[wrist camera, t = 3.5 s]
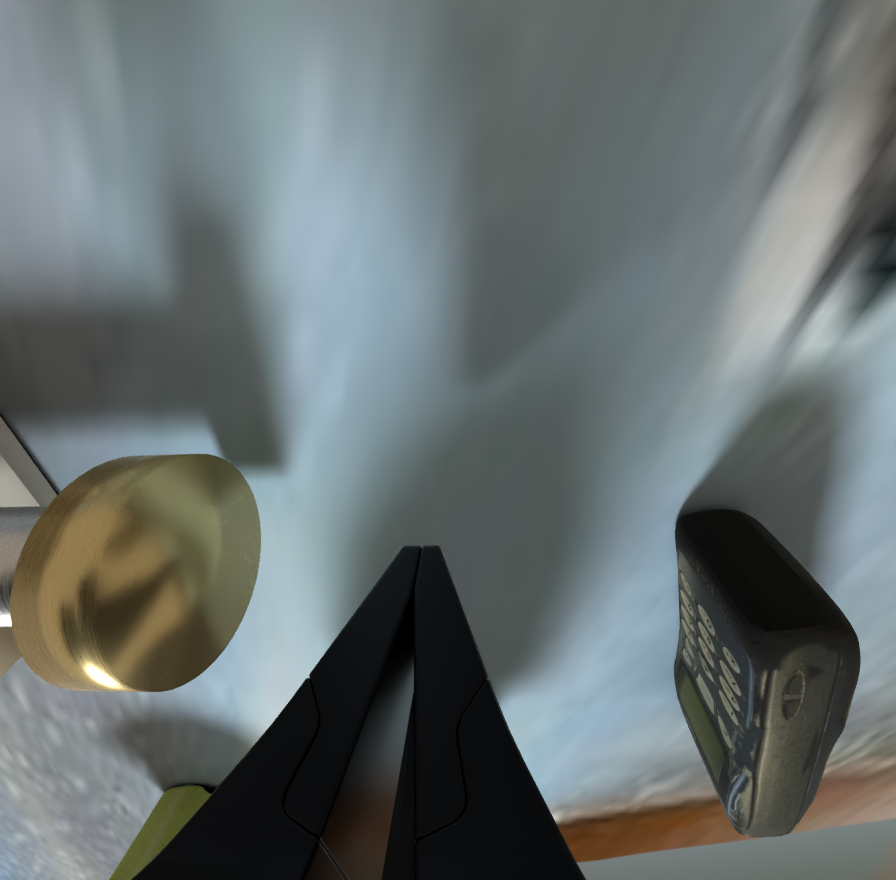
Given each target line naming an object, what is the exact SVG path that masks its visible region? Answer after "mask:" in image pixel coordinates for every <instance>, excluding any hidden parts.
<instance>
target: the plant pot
mask: <svg viewBox="0 0 896 880" xmlns="http://www.w3.org/2000/svg"><path fill="white" fill-rule="evenodd" d="M210 795H211V794H210V793H208V792H207V791H205V789H204V788H203V787H201V786H198V785H188V786H181V787H174V788H171V789H169V790H167V791H166V792H165V793H164V794H163V796H162V797H161V798H160V800H159V801H158V803H157V805H156V806H155V808H154V809H153V811H152V813H151V814H150V816H149V817H148V819H147V821H146V822H145V824H144V825H143V827H142V829H141V830H140V832H139V833H138V835H137V837H136V838H135V840H134V841H133V843H132V845H131V846H130V848H129V849H128V851H127V853H126V854H125V856H124V857H123V859H122V860H121V862H120V864H119V865H118V867H117V868H116V870H115V871H114V873H113V875H112V876H111V878H110V879H109V880H130V879H131V878H133V877H134V876H135V875H136V874H137V873H138V872H139V871H140V870H142V869H143V868H144V867H145V866H146V865H147V864H148V863H149V862H150V861H151V860H152V859H153V858H154V857H155V856H156V855H157V854H158V853H159V852H160V851H161V850H162V849H163V848H164V847H165V846H166V845H167V844H168V843H169V842H170V841H171V840H172V839H173V837H174V836H175V835H176V834H177V833H178V832H179V831H180V830H181V828H182V827H183V826H184V825H185V824H186V823H187V822H188V820H189V819H190V818H191V817H192V816H193V815H194V814H195V812H196V811H197V810H198V809H199V808H200V807H201V806H202V804H203V803H204V802H205V801H206V800H207V799H208V798H209V796H210Z"/></svg>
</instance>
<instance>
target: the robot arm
mask: <svg viewBox="0 0 896 880" xmlns="http://www.w3.org/2000/svg"><path fill="white" fill-rule="evenodd" d="M309 677H310V678H306V680H305V681H304V682H303V684H302V685H301V686H300V688H299V689H298V691H297V692H296V693H295V695H294V696H293V697H292V699H291V700H290V701H289V703H288V704H287V705H286V706H285V708H284V709H283V710H282V712H281V713H280V714H279V715H278V717H277V718H276V719H275V721H274V722H273V723H272V725H271V726H270V727H269V728H268V729H267V730H266V732H265V733H264V734H263V735H262V736H261V738H260V739H259V740H258V741H257V742H256V743H255V745H254V746H253V747H252V748H251V749H250V751H249V752H248V753H247V754H246V755H245V756H244V758H243V759H242V760H241V761H240V762H239V763H238V764H237V766H236V767H235V768H234V769H233V770H232V771H231V772H230V774H229V775H228V776H227V777H226V778H225V779H224V780H223V782H222V783H221V784H220V785H219V786H218V787H217V788H216V790H215V791H214V792H213V793H212V794H211V795H210V796H209V798H208V799H207V800H206V801H205V802H204V803H203V804H202V806H201V807H200V808H199V809H198V810H197V811H196V812H195V814H194V815H193V816H192V817H191V818H190V819H189V820H188V822H187V823H186V824H185V825H184V826H183V827H182V828H181V830H180V831H179V832H178V833H177V834H176V835H175V836H174V837H173V839H172V840H171V841H170V842H169V843H168V844H167V845H166V846H165V847H164V848H163V849H162V850H161V851H160V852H159V853H158V854H157V855H156V856H155V857H154V858H153V859H152V860H151V861H150V862H149V863H148V864H147V865H146V866H145V867H144V868H143V869H142V870H140V871H139V872H138V873H137V874H136V875H135V876H134V877H133V878H131V879H130V880H586V879H585V877H584V875H583V873H582V872H581V870H580V868H579V866H578V865H577V863H576V861H575V859H574V857H573V855H572V853H571V851H570V850H569V848H568V846H567V844H566V842H565V840H564V838H563V836H562V834H561V832H560V830H559V828H558V826H557V824H556V822H555V820H554V818H553V816H552V815H551V813H550V811H549V809H548V807H547V805H546V803H545V801H544V799H543V797H542V795H541V793H540V791H539V789H538V787H537V785H536V783H535V781H534V779H533V777H532V775H531V773H530V772H529V770H528V768H527V766H526V764H525V762H524V760H523V758H522V755H521V753H520V751H519V749H518V747H517V745H516V743H515V741H514V739H513V736H512V734H511V732H510V730H509V728H508V725H507V723H506V721H505V718H504V716H503V713H502V711H501V708H500V706H499V703H498V701H497V698H496V696H495V693H494V690H493V688H492V685H491V682H490V680H488V675H487V672H486V669H485V667H484V664H483V661H482V659H481V656H480V653H479V651H478V648H477V645H476V643H475V640H474V637H473V635H472V632H471V629H470V626H469V624H468V621H467V618H466V616H465V613H464V610H463V608H462V605H461V602H460V600H459V597H458V594H457V592H456V589H455V586H454V584H453V581H452V578H451V575H450V573H449V570H448V567H447V565H446V562H445V559H444V557H443V554H442V551H441V549H440V547H439V546H423V547H422V548H421V547H420V546H405V547H403V548H402V549H401V551H400V552H399V553H398V555H397V556H396V557H395V559H394V560H393V561H392V563H391V564H390V566H389V567H388V568H387V570H386V571H385V572H384V574H383V575H382V576H381V578H380V579H379V580H378V582H377V583H376V585H375V586H374V587H373V589H372V590H371V591H370V593H369V594H368V595H367V597H366V598H365V600H364V601H363V602H362V604H361V605H360V606H359V608H358V609H357V610H356V612H355V613H354V615H353V616H352V617H351V619H350V620H349V621H348V623H347V624H346V625H345V627H344V628H343V629H342V631H341V632H340V634H339V635H338V636H337V638H336V639H335V640H334V642H333V643H332V644H331V646H330V647H329V649H328V650H327V651H326V653H325V654H324V655H323V657H322V658H321V659H320V661H319V662H318V664H317V665H316V666H315V668H314V669H313V670H312V672H311V673H310V675H309ZM413 691H414V693H413Z"/></svg>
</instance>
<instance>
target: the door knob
mask: <svg viewBox="0 0 896 880" xmlns="http://www.w3.org/2000/svg"><path fill="white" fill-rule="evenodd" d="M260 550H261V530H260V520H259V513H258V509H257V505H256V501H255V498H254V495H253V493H252V491H251V489H250V486H249V484H248V483H247V481H246V480H245V478H244V477H243V475H242V474H241V473H240V472H239V470H238V469H236V468H235V467H234V466H233V465H232V464H231V463H229V462H228V461H226V460H224V459H222V458H220V457H217V456H213V455H209V454H179V455H141V456H128V457H121V458H118V459H114V460H111V461H108V462H105V463H103V464H101V465H99V466H96V467H94V468H92V469H91V470H89V471H87V472H86V473H84V474H82V475H81V476H79V477H78V478H77V479H76V480H74V481H73V482H72V483H70V484H69V485H68V486H67V487H66V488H65V489H64V490H63V491H62V492H61V493H60V494H59V495H58V496H57V497H56V498H55V499H54V500H53V501H52V502H51V503H50V504H49V506H30V507H0V627H12V631H13V634H14V638H15V641H16V644H17V647H18V649H19V651H20V653H21V655H22V657H23V659H24V660H25V662H26V663H27V664H28V666H29V667H30V668H31V669H32V670H33V671H34V673H35V674H37V675H38V676H39V677H41V678H42V679H43V680H45V681H46V682H48V683H50V684H52V685H55V686H57V687H59V688H63V689H68V690H73V691H140V692H162V691H167V690H172V689H175V688H177V687H180V686H182V685H185V684H186V683H188V682H190V681H191V680H193V679H195V678H196V677H197V676H199V675H200V674H201V673H202V672H204V671H205V670H206V669H207V668H208V667H209V666H210V665H211V664H212V663H213V662H214V661H215V660H216V659H217V658H218V657H219V655H220V654H221V653H222V652H223V651H224V649H225V648H226V646H227V645H228V643H229V642H230V641H231V639H232V637H233V636H234V634H235V632H236V631H237V629H238V627H239V625H240V623H241V621H242V619H243V617H244V615H245V612H246V610H247V607H248V605H249V602H250V599H251V596H252V593H253V590H254V586H255V583H256V578H257V573H258V568H259V561H260Z"/></svg>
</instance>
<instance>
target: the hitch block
mask: <svg viewBox="0 0 896 880" xmlns="http://www.w3.org/2000/svg"><path fill="white" fill-rule="evenodd" d="M56 497H57V494H56V493H55V491H54V490H53V489H52V487H51V486H50V485H49V483H48V482H47V480H46V479H45V478H44V476H43V475H42V473H41V472H40V471H39V469H38V468H37V466H36V465H35V464H34V462H33V461H32V460H31V458H30V457H29V455H28V454H27V453H26V451H25V450H24V448H23V447H22V446H21V444H20V443H19V441H18V440H17V439H16V437H15V436H14V435H13V433H12V432H11V430H10V429H9V428H8V426H7V425H6V423H5V422H4V421H3V419H2V418H1V417H0V507H30V506H49V504H50V503H51V502H52V501H53V500H54V499H55V498H56ZM21 656H22V655H21V653H20V651H19V649H18V647H17V644H16V641H15V638H14V634H13V631H12V627H0V677H1V676H2V675H3V674H4V673H5V672H6V671H7V670H8V669H9V668H10V667H11V666H12V665H13V664H14V663H15V662H16V661H17V660H18V659H19V658H20V657H21Z"/></svg>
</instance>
